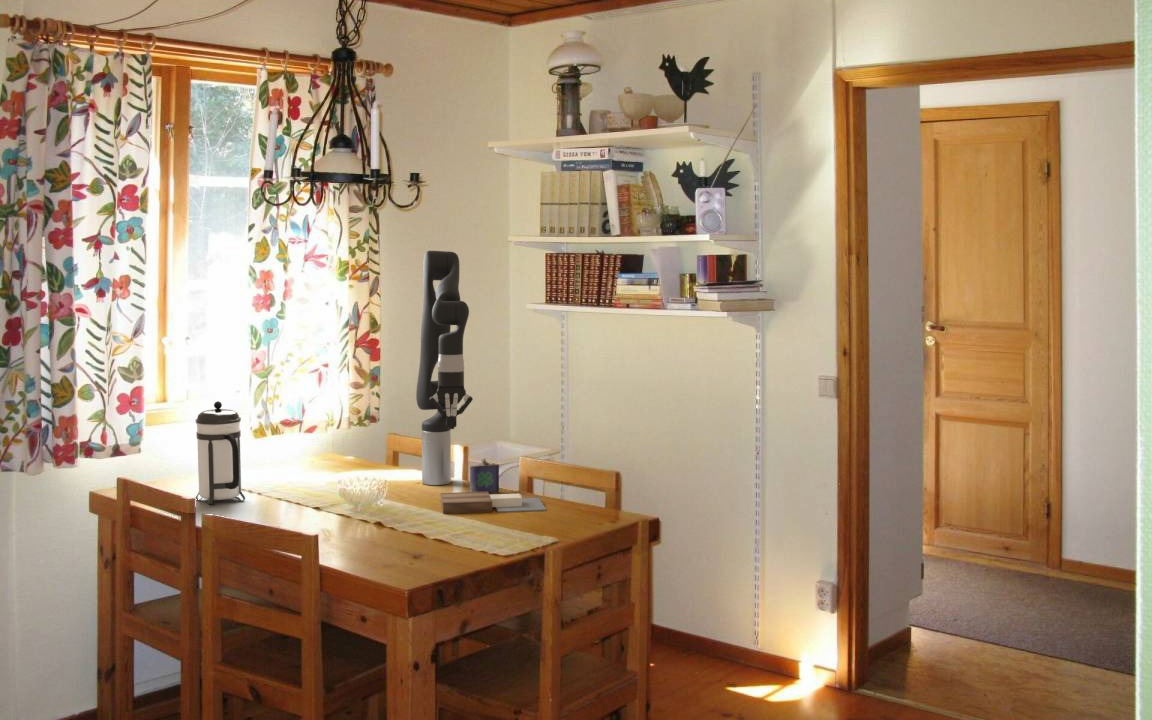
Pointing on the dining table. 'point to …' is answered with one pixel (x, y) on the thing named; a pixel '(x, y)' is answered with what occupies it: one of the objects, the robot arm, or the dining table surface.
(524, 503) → the mat
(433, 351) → the robot arm
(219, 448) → the coffee press
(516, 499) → the tile
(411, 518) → the dining table surface
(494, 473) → the flask
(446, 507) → the board
